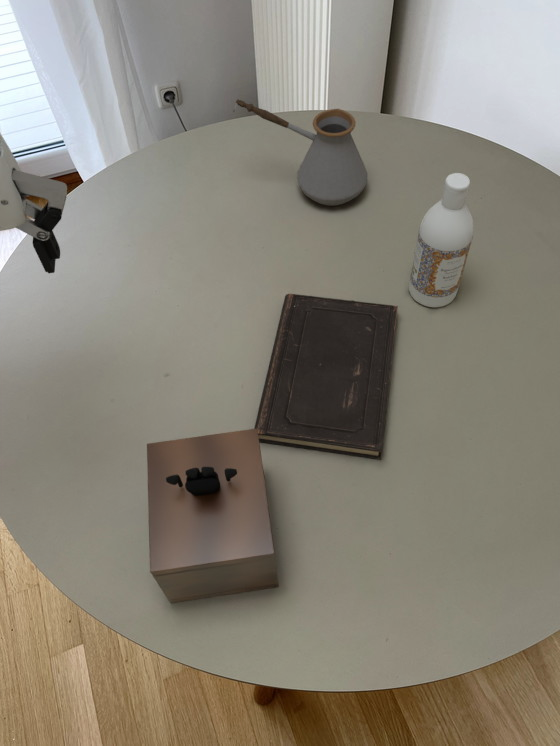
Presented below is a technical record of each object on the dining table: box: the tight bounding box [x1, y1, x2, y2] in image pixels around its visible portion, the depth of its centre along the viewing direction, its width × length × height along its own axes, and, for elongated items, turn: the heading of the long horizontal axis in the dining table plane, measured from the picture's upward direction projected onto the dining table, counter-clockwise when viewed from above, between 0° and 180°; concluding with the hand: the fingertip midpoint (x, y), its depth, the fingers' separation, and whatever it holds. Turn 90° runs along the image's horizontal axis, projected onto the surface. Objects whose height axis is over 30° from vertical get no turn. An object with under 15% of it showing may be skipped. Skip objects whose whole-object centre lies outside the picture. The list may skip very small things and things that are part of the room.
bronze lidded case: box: [146, 428, 279, 604], centre depth 71 cm, size 12×14×11 cm
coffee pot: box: [232, 99, 369, 207], centre depth 103 cm, size 21×12×15 cm, turn 77°
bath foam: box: [408, 172, 475, 308], centre depth 87 cm, size 7×7×20 cm
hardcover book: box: [253, 293, 399, 460], centre depth 86 cm, size 16×23×2 cm
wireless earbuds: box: [166, 467, 237, 496], centre depth 64 cm, size 7×2×5 cm, turn 97°
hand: (0, 268), depth 61 cm, fingers open, 9 cm apart
